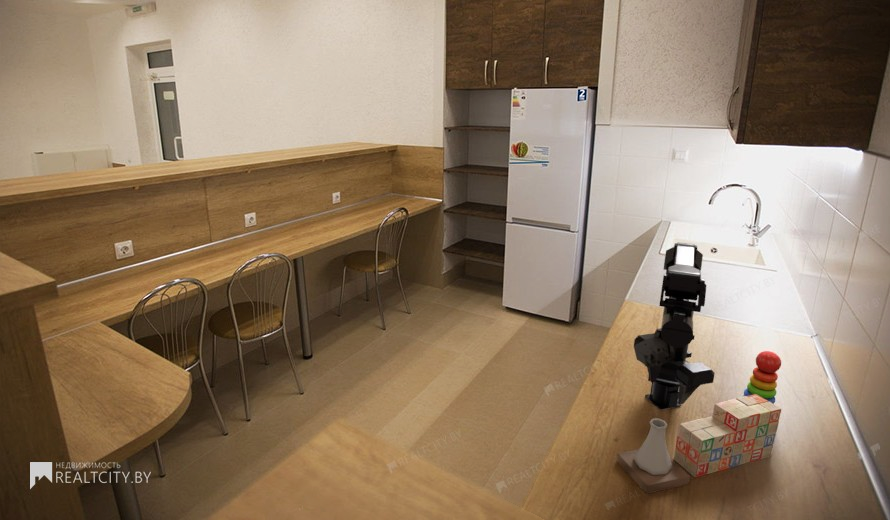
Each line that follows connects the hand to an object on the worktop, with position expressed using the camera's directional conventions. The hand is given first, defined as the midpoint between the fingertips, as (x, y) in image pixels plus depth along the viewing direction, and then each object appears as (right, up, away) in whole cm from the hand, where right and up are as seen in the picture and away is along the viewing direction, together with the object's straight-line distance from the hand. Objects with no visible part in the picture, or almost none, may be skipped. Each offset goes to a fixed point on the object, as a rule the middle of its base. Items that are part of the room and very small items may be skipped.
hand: (666, 392), depth 112 cm
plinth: (-6, -15, -6) cm, 17 cm away
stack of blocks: (+12, -14, -1) cm, 19 cm away
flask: (-6, -14, -6) cm, 16 cm away
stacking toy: (+27, -10, +12) cm, 31 cm away
